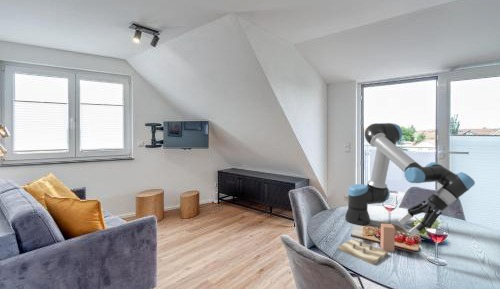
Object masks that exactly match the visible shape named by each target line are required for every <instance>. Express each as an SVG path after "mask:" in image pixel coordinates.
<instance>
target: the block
mask: <svg viewBox="0 0 500 289" xmlns="http://www.w3.org/2000/svg"><path fill="white" fill-rule="evenodd" d="M395 236H396V227H395V226H394V225H393V224H392V223H380V243H379V244H380V246H379V247H380V249H382V250H385V251H387V252H395V243H396V241H395V240H396V239H395V238H396V237H395Z"/></svg>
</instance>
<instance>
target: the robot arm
mask: <svg viewBox="0 0 500 289" xmlns="http://www.w3.org/2000/svg"><path fill="white" fill-rule="evenodd" d="M364 138H365V140H366V142H367V143H368V144H369V145H370V146H371V147H374V148H376V150H375V155H374V161H373V167H372V170H371V171H372V172H371V177H370V179H369V180H368V181H367V184H365V183H364V184H363V183H362V184H361V183H357V184H351V185H350V186H349V187H348V192H347V194H348V198H347V199H348V200H347V201H348V204H347V205H348V206H347V207H348V208H347V210H346V213H345V218H344V219H345V221H346V222H347V223H350V224H353V225H361V226H363V225H364V224H366V225H369V224H371V218H370V214H369V210H368V205H373V204H382V203H386V202H387V201H388V200H389V198H390V194H391V192H390V190H389V187H388V185H387V184H386V180H387V176H388V170H389V167H390V166H389V165H390V162H391V163H393V164H394V165H396V167H398V168H399V169H400V170H401V171H402V172H403V173H404V178H405V180H406V181H407V182H408V183H411V184H423V183H434V182H437V183H438V184H440V185H441V186H440V187H439V189H437V190H436V191H435V192H434V194H433V193H432V194H431V195H429V197H428V198H427V201H428V202H427V201H426V200H423V201H421V202H420V203H418V204H416V205H414V206H411V207H410V208H408V209H407V213H405V214H404V215H403V216H402V217H401V218H399V219H398V220H397V222H399V224H401V226H403V225H405V224H406V223H407V222H408V221H410V220H411V219H412V218H414V216H416V215H419V214H424V216H423V218H422V221H419V222H418V223H417V224H416V225H415V226H413V227H412V228H411V229H410V230H408V233H409V234H411V235H412V236H413V237H415V236H416V235H418V234H419V233H420V232H421V231H423V230H424V229H425V228H428V229H431V228H432V226H433V225H434V223H435V222H436V221H437V219H438V217H439V216H440V215H442V214H443V213H442V211H444V210H445V209H446V208H448V206H450V205H451V204H452V203H455V201H456V200H458V199H459V198H460V197H461V196H463V195H464V194H465V193H467V192H468V191H469V190H470V189H471V188H473V186H475V184H476V182H475V180H474V179H473V178H472V177H471V176H469V174H467V173H465V172H462V171H461V172H458V173H455V172H452V171H451V170H449V169H447V168H446V167H445V166H443V165H441V164H439V163H437V162H434V161H432V162H430V163H427V164H426V166H422V165H420V164H419V163H418V162H417V161H415V160H414V159H413V158H412V157H411V156H410V155H408V154H407V153H406V152H404V151H403V150H402V149H401V148H399V147H398V146H397V143H398V142H399V141H401V139H403V130H402V128H401V127H400V126H399V124H396V123H392V122H390V123H389V122H387V123H384V122H383V123H378V122H377V123H371V124H369V125H368V126H367V127H366V129H365V131H364ZM386 200H387V201H386ZM385 201H386V202H385ZM364 226H365V225H364Z"/></svg>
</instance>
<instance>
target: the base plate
mask: <svg viewBox="0 0 500 289" xmlns="http://www.w3.org/2000/svg"><path fill="white" fill-rule="evenodd" d="M337 250H338V251H340V252H344V253H346V254H347V255H350V256H352V257H354V258H357V259H359V260H362V261H364V262H367V263H369V264H371V265H375V264H377V263H378V262H380V260H383V259H384V258H386V257H387V256H388V255H389V251H385V250H383V249H382V248H379V247H376V246H373V245H371V244H368V243H366V242H363V241H362V240H358V239H355V238H352V239H350V240H348V241H346V242H344V243H342V244H340V245H338V246H337Z"/></svg>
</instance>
